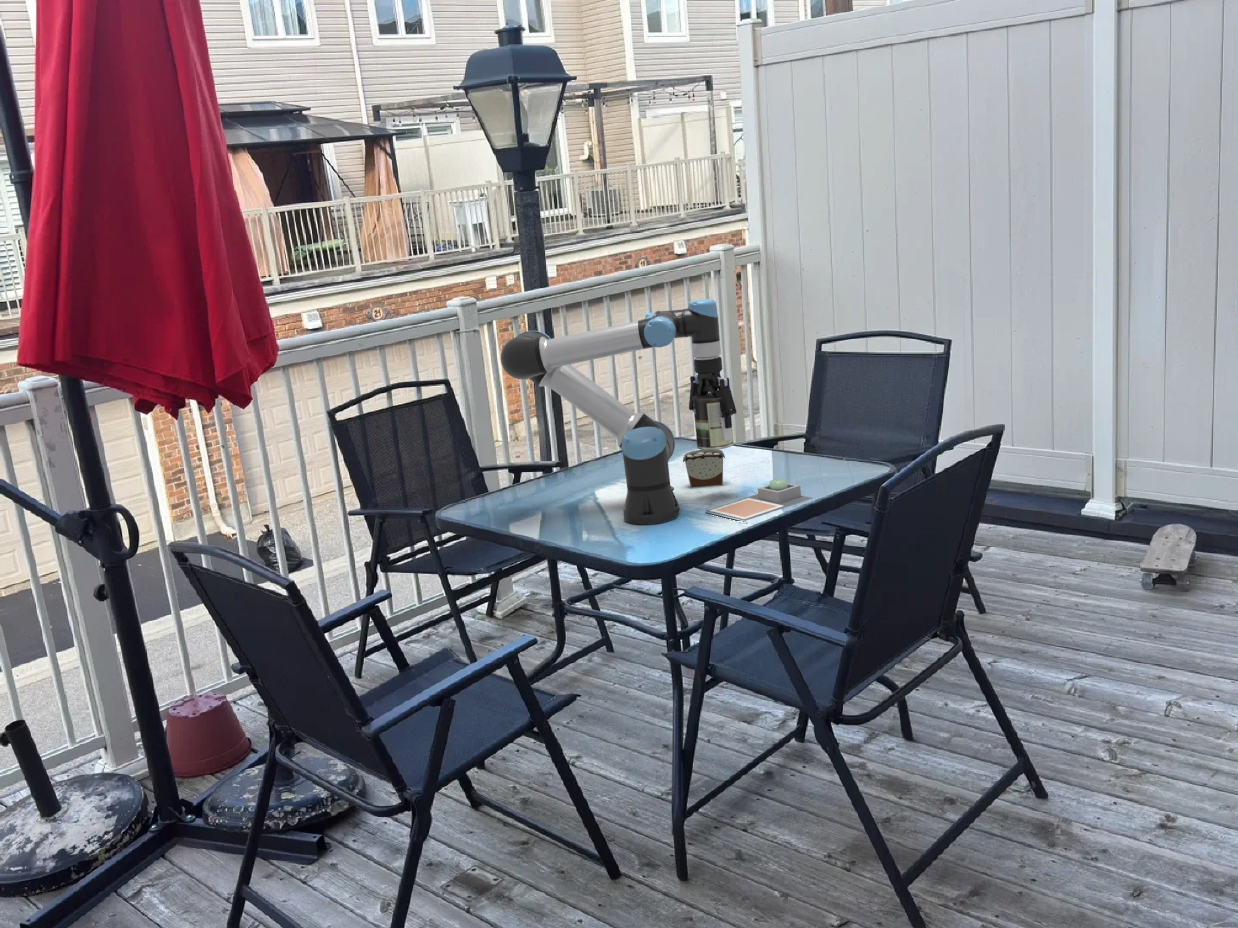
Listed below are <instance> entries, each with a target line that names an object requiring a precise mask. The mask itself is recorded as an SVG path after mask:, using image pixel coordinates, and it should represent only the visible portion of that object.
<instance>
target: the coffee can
mask: <svg viewBox="0 0 1238 928" xmlns="http://www.w3.org/2000/svg"><path fill="white" fill-rule="evenodd" d="M692 400H693V407H694V412H693V415H694V426H695V437H696V448H697V450H723V449H727V448H731V447H733V446H734V444H735V443H734V434H733V433H734V430H733V427H732V428H731V432H732V439H730V440H726V441H723V438H722V427H721V416H722V413H721V411H720V402H723V398H722V397H720V398H715V397H714V396H713V395H712V394H711V392H708V394H707V395H703V396H698V395H695V396H693V397H692ZM731 420H732V417H731Z"/></svg>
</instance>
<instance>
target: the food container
mask: <svg viewBox="0 0 1238 928" xmlns="http://www.w3.org/2000/svg"><path fill="white" fill-rule="evenodd" d="M682 458H683V459H682V462H683V463H685V468H686V473H687V476H688V482H689V486H690V487H689V488H690V489H699V488H700V489H701V488H710V487H723V486H724V459H726V456H725V452H723V449H719V450H701V449H697V450H692V451H689V452H686V453H684V455H683V457H682Z"/></svg>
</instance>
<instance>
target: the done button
mask: <svg viewBox="0 0 1238 928" xmlns="http://www.w3.org/2000/svg"><path fill="white" fill-rule="evenodd" d="M788 481H789V480H788V479H786V478H777V479H771V480H769V485H770V490H775V491H780V490H784V489H787V488H788V483H789V482H788Z"/></svg>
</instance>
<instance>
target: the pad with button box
mask: <svg viewBox="0 0 1238 928" xmlns="http://www.w3.org/2000/svg"><path fill="white" fill-rule="evenodd" d="M801 493H802V491H801V485H799V484H793V483H789V482H788V488H787V489H784V490H780V491H775V490H770V484H767V485H764V486H761V487H758V488H757V494H754V495H751V496H747V497H744V498H740V499H738V500H734V501H731V502H728V503H726V504H723V505H720V506H716V507H714V508H711V509H709V508H708V509H707V510H705V514H706V515H709V516H713V515H714V516H713V517H717V516H718V518H721V517H722V518H721V519H725V518H726V519H725V520H729V519H731V520H730V521H733V520H735V521H734V522H737V521H743V522H747V521H749V520H752V519H755V518H758V517H761V516H764V515H768V514H770V513H773V512H777V511H779V510H782V509H785V508H788V507H791V506H793V505H794V506H795V505H796V504H800V503H802V502H807V501H808V500H812V499H813V497H809V496H804V495H802V494H801Z"/></svg>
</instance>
